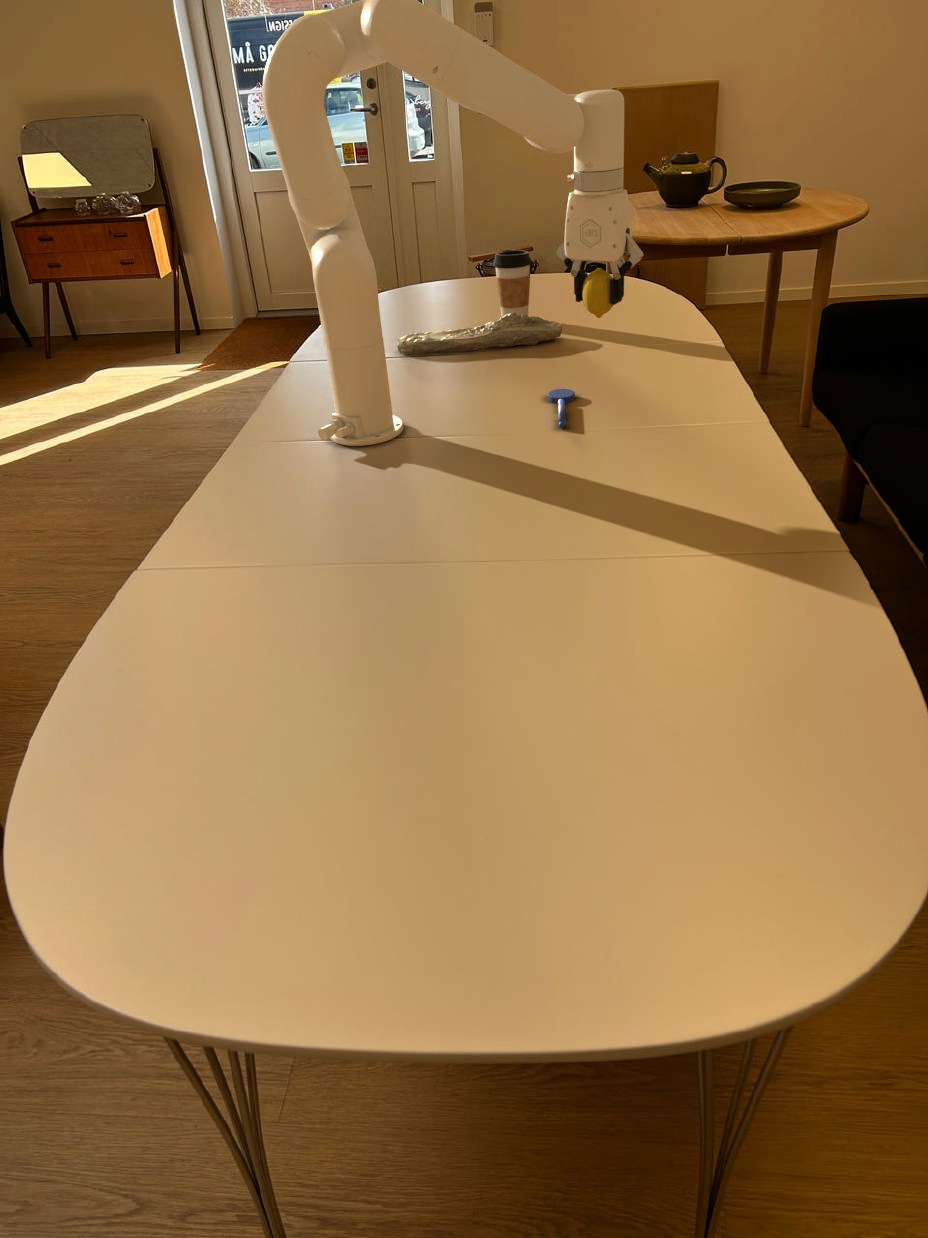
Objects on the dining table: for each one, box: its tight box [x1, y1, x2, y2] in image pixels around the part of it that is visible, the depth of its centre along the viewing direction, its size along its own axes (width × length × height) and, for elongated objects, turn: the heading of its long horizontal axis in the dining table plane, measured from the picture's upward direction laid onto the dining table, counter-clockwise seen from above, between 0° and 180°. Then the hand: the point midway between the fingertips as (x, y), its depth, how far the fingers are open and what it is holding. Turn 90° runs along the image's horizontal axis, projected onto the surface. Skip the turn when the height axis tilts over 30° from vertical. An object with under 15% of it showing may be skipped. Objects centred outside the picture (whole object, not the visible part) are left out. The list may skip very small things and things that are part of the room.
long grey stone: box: [396, 312, 563, 356], centre depth 197 cm, size 35×5×10 cm
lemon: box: [582, 267, 614, 319], centre depth 153 cm, size 6×6×8 cm
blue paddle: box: [547, 388, 576, 430], centre depth 160 cm, size 18×5×1 cm, turn 176°
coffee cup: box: [493, 249, 532, 317], centre depth 208 cm, size 8×8×15 cm
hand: (598, 300), depth 154 cm, fingers closed on lemon, 5 cm apart
